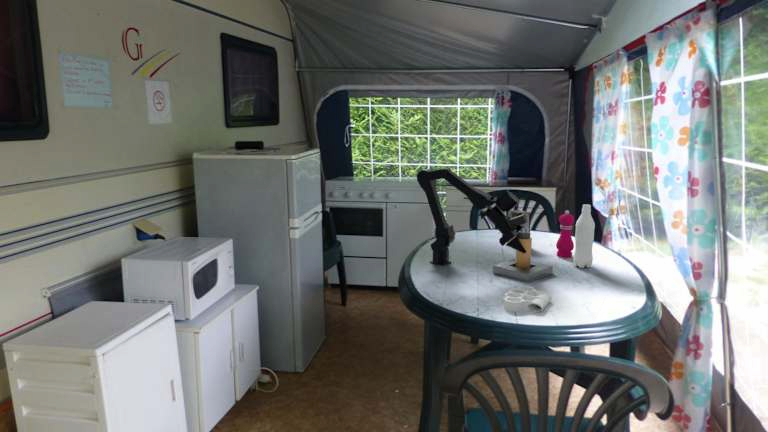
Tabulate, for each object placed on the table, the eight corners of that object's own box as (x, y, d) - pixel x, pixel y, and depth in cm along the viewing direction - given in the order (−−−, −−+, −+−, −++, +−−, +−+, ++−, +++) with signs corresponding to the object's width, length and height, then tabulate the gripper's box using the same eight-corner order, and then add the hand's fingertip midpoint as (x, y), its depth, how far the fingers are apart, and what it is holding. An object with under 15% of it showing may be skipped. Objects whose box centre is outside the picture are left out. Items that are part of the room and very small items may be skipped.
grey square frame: (528, 282, 192) (529, 274, 192) (492, 272, 204) (493, 265, 203) (552, 273, 203) (552, 265, 202) (516, 264, 214) (517, 257, 214)
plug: (518, 270, 200) (520, 230, 197) (512, 266, 205) (514, 227, 202) (532, 270, 201) (534, 230, 198) (526, 265, 206) (528, 226, 203)
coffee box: (530, 247, 243) (531, 212, 240) (519, 248, 240) (520, 213, 237) (517, 242, 251) (518, 209, 248) (506, 244, 248) (507, 210, 245)
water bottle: (593, 269, 208) (598, 206, 203) (574, 268, 209) (578, 206, 204) (590, 264, 215) (594, 203, 210) (571, 263, 216) (575, 203, 211)
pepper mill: (570, 254, 230) (573, 208, 227) (575, 258, 223) (578, 212, 220) (553, 253, 231) (556, 208, 227) (557, 258, 224) (560, 211, 220)
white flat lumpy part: (538, 317, 160) (492, 308, 168) (554, 300, 175) (511, 292, 183) (539, 307, 160) (493, 298, 167) (554, 290, 175) (511, 283, 182)
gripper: (509, 210, 192) (538, 243, 189) (520, 202, 208) (547, 232, 206) (487, 229, 197) (515, 261, 194) (499, 220, 213) (525, 250, 210)
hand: (527, 250), depth 201 cm, fingers closed on plug, 6 cm apart
